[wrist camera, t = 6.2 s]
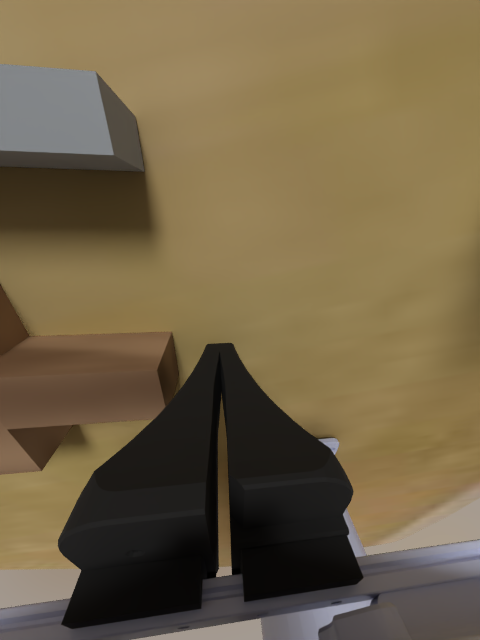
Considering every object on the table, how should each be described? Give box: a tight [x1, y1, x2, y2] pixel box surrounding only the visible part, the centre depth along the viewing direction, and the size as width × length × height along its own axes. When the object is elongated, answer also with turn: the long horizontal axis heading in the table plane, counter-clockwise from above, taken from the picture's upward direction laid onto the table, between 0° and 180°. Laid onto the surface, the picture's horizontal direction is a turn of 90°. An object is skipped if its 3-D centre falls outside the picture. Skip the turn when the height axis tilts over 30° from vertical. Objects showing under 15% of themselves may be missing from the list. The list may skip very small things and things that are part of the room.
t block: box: [0, 285, 179, 475], centre depth 10 cm, size 10×10×3 cm
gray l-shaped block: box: [0, 64, 145, 172], centre depth 9 cm, size 16×12×2 cm
